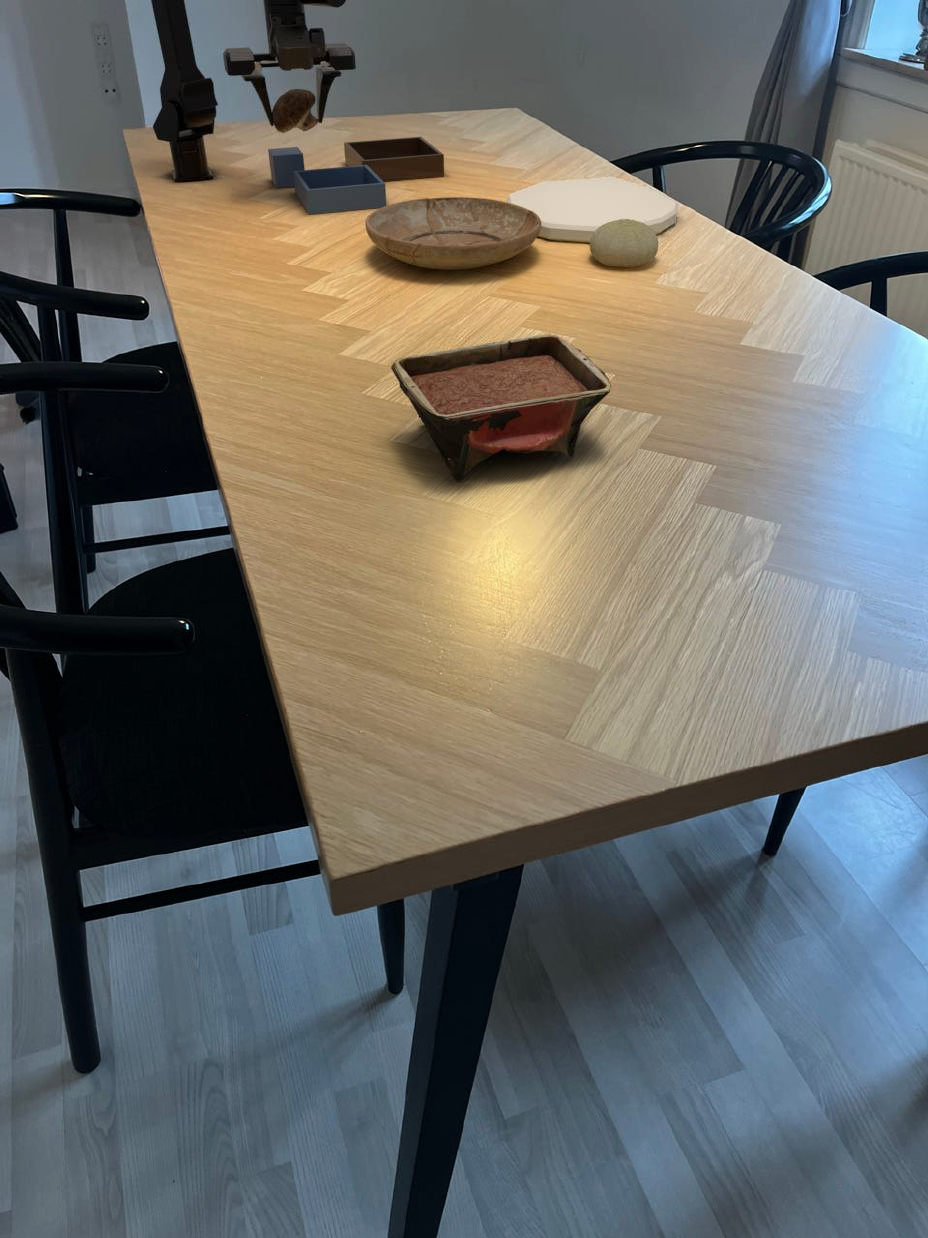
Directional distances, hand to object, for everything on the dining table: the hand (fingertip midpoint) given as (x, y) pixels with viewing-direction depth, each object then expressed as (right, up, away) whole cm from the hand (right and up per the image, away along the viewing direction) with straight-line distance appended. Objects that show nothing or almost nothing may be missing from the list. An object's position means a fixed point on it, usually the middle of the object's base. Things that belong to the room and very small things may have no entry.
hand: (296, 123), depth 145 cm
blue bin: (+6, -9, +6) cm, 12 cm away
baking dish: (+29, -60, -57) cm, 87 cm away
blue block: (-4, -2, +14) cm, 15 cm away
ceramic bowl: (+24, -26, -15) cm, 39 cm away
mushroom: (0, -1, +1) cm, 1 cm away
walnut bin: (+13, +3, +21) cm, 25 cm away
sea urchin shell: (+47, -28, -17) cm, 57 cm away
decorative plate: (+45, -16, -2) cm, 48 cm away
